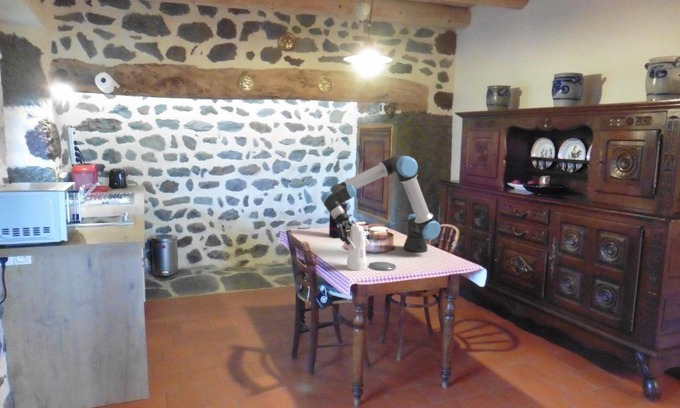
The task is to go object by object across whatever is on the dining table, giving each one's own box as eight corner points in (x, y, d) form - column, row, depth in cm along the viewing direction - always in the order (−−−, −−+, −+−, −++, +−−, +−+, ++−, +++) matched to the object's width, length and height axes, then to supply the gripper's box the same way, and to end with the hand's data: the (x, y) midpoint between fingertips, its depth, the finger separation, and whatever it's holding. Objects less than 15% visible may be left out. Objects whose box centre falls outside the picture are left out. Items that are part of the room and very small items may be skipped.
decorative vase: (355, 263, 274) (357, 220, 270) (370, 268, 266) (372, 223, 263) (342, 267, 266) (344, 222, 262) (357, 271, 258) (358, 225, 255)
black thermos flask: (348, 237, 339) (350, 195, 335) (332, 238, 335) (334, 195, 330) (340, 233, 352) (342, 192, 348) (325, 234, 347) (326, 193, 343)
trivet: (378, 261, 280) (378, 260, 280) (400, 266, 271) (400, 265, 271) (363, 266, 268) (363, 265, 268) (386, 272, 259) (386, 270, 259)
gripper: (349, 217, 282) (369, 247, 275) (321, 222, 262) (342, 255, 255) (357, 209, 278) (377, 239, 271) (329, 214, 258) (351, 246, 251)
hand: (360, 247), depth 263 cm, fingers open, 13 cm apart
